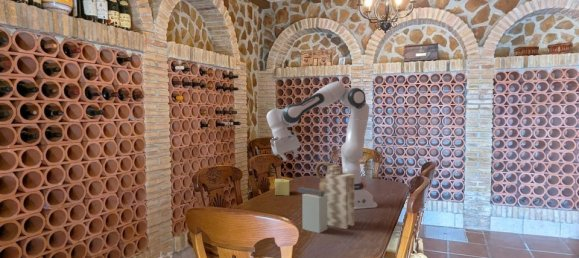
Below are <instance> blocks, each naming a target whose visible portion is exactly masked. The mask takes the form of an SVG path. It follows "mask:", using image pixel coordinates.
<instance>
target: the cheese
mask: <svg viewBox="0 0 579 258" xmlns="http://www.w3.org/2000/svg"><path fill="white" fill-rule="evenodd" d="M274 195H284V196H290V180H289V179H285V178H284V179H283V178H275V179H274Z"/></svg>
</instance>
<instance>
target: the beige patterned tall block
mask: <svg viewBox="0 0 579 258" xmlns="http://www.w3.org/2000/svg"><path fill="white" fill-rule="evenodd" d="M341 166H342V164H341V165H340V164H337V165H332V166H328V167H326V173H325V178H326V195H327V226H332V227H335V228H340V229H345V230H348V227H349V226H351V227H352V226H355V209H354V174H349V173H342V172H341V171H342V168H341Z"/></svg>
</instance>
